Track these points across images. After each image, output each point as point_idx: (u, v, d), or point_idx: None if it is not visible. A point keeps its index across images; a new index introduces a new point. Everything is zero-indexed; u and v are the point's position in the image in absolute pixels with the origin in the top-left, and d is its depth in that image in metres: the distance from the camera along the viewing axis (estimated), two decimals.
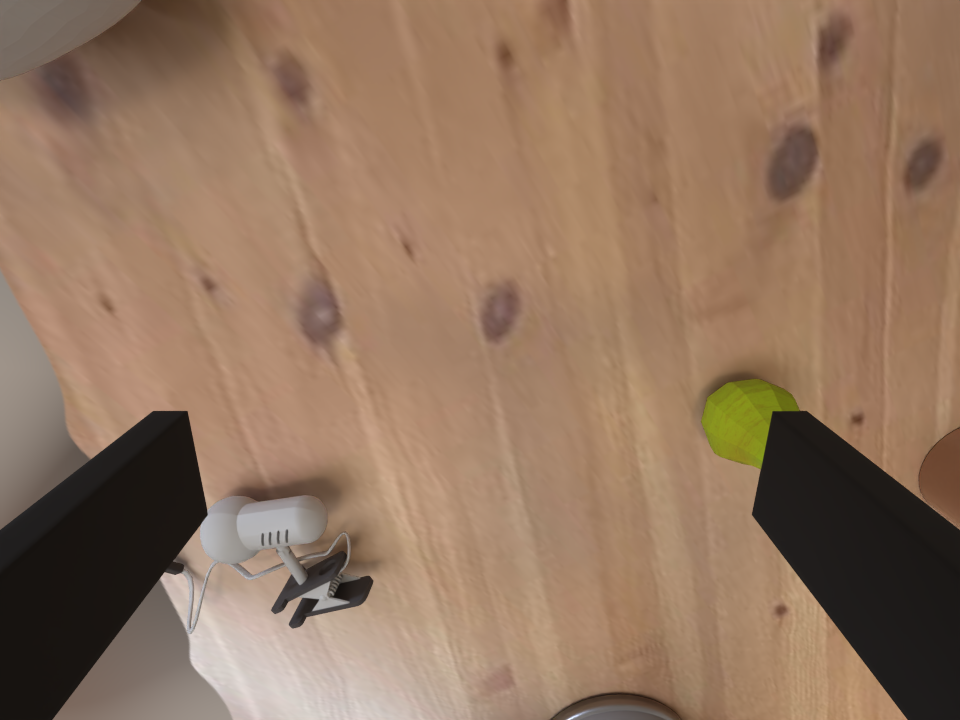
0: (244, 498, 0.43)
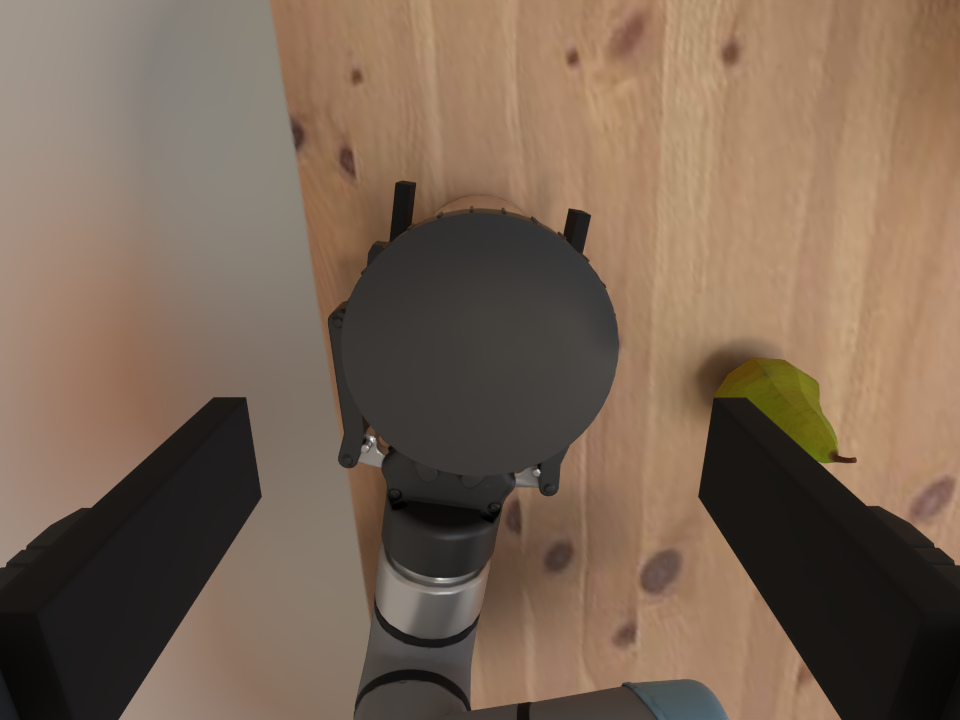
0: None
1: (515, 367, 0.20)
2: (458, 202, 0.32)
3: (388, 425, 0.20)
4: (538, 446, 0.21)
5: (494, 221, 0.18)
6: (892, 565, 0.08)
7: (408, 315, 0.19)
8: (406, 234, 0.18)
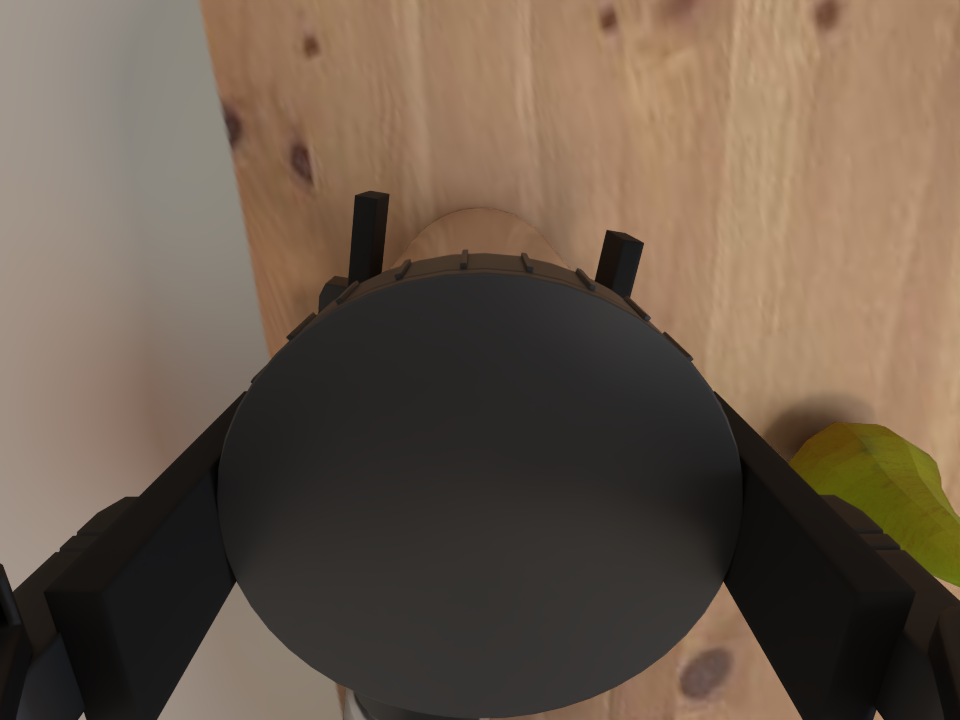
0: None
1: (546, 551, 0.11)
2: (450, 220, 0.23)
3: (314, 642, 0.11)
4: (584, 674, 0.12)
5: (510, 289, 0.09)
6: (834, 547, 0.08)
7: (342, 462, 0.10)
8: (331, 314, 0.09)
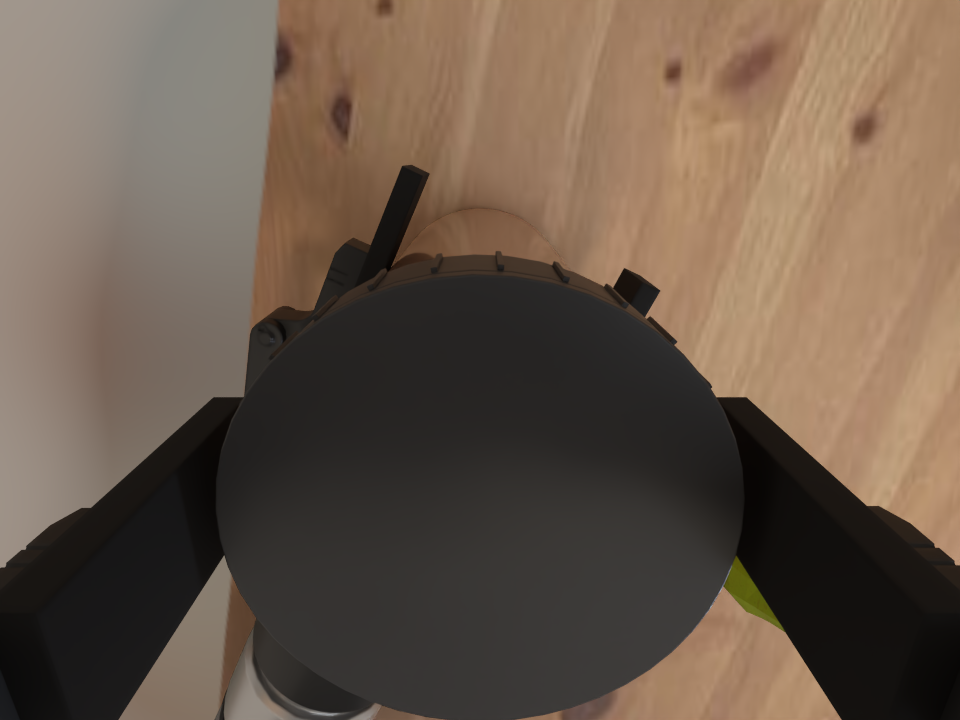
0: None
1: (526, 486, 0.10)
2: (478, 216, 0.23)
3: (545, 695, 0.12)
4: (707, 496, 0.10)
5: (238, 437, 0.10)
6: (892, 565, 0.08)
7: (366, 610, 0.11)
8: (229, 569, 0.11)
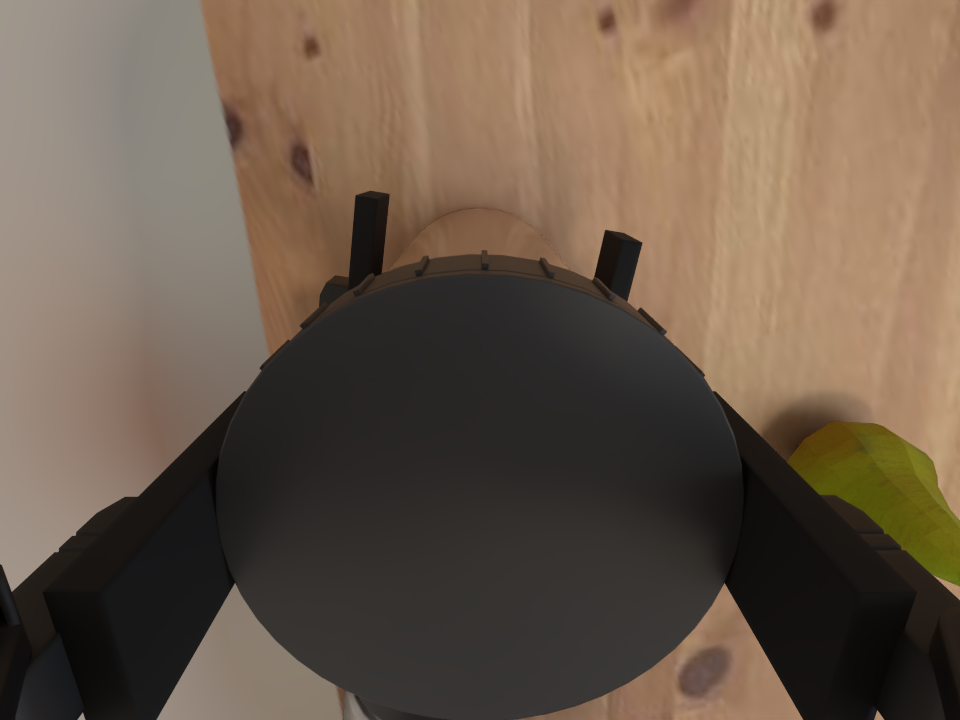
0: None
1: (509, 476, 0.10)
2: (450, 220, 0.23)
3: (597, 676, 0.12)
4: (694, 442, 0.10)
5: (226, 497, 0.10)
6: (835, 548, 0.08)
7: (396, 631, 0.11)
8: (259, 621, 0.11)
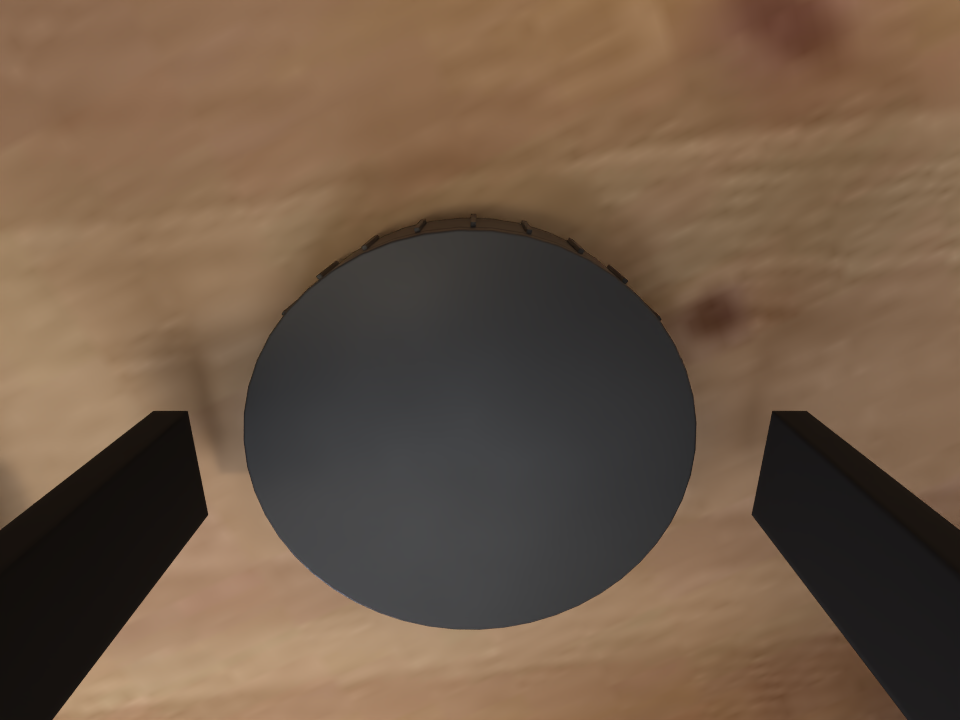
0: None
1: (494, 406, 0.12)
2: None
3: (573, 587, 0.13)
4: (651, 375, 0.11)
5: (253, 426, 0.12)
6: None
7: (399, 546, 0.13)
8: (280, 538, 0.13)
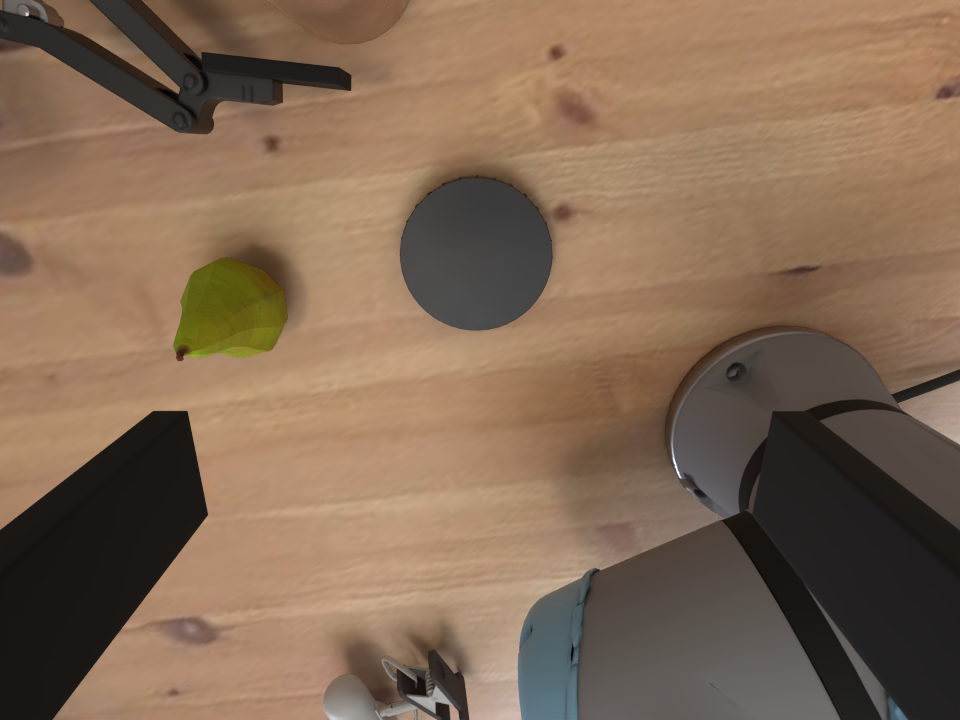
0: None
1: (484, 238, 0.35)
2: None
3: (513, 311, 0.37)
4: (535, 227, 0.35)
5: (404, 245, 0.35)
6: None
7: (451, 293, 0.37)
8: (409, 289, 0.36)
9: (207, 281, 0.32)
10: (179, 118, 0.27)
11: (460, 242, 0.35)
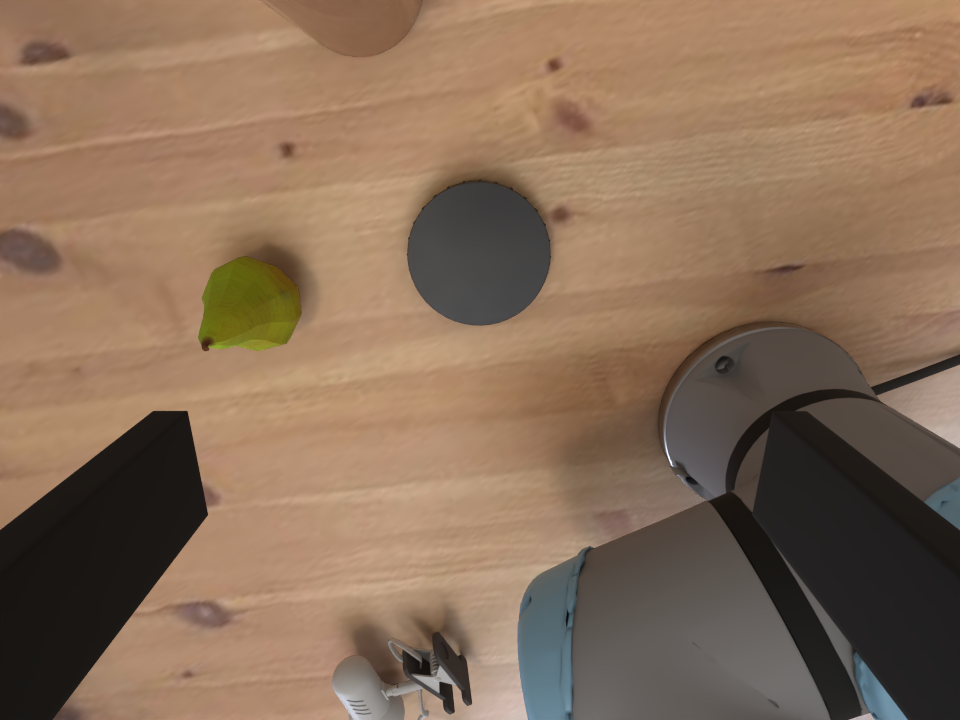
0: None
1: (486, 238, 0.38)
2: None
3: (513, 307, 0.39)
4: (534, 228, 0.37)
5: (411, 245, 0.38)
6: None
7: (455, 290, 0.39)
8: (416, 286, 0.39)
9: (228, 278, 0.35)
10: None
11: (464, 242, 0.38)
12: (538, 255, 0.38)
